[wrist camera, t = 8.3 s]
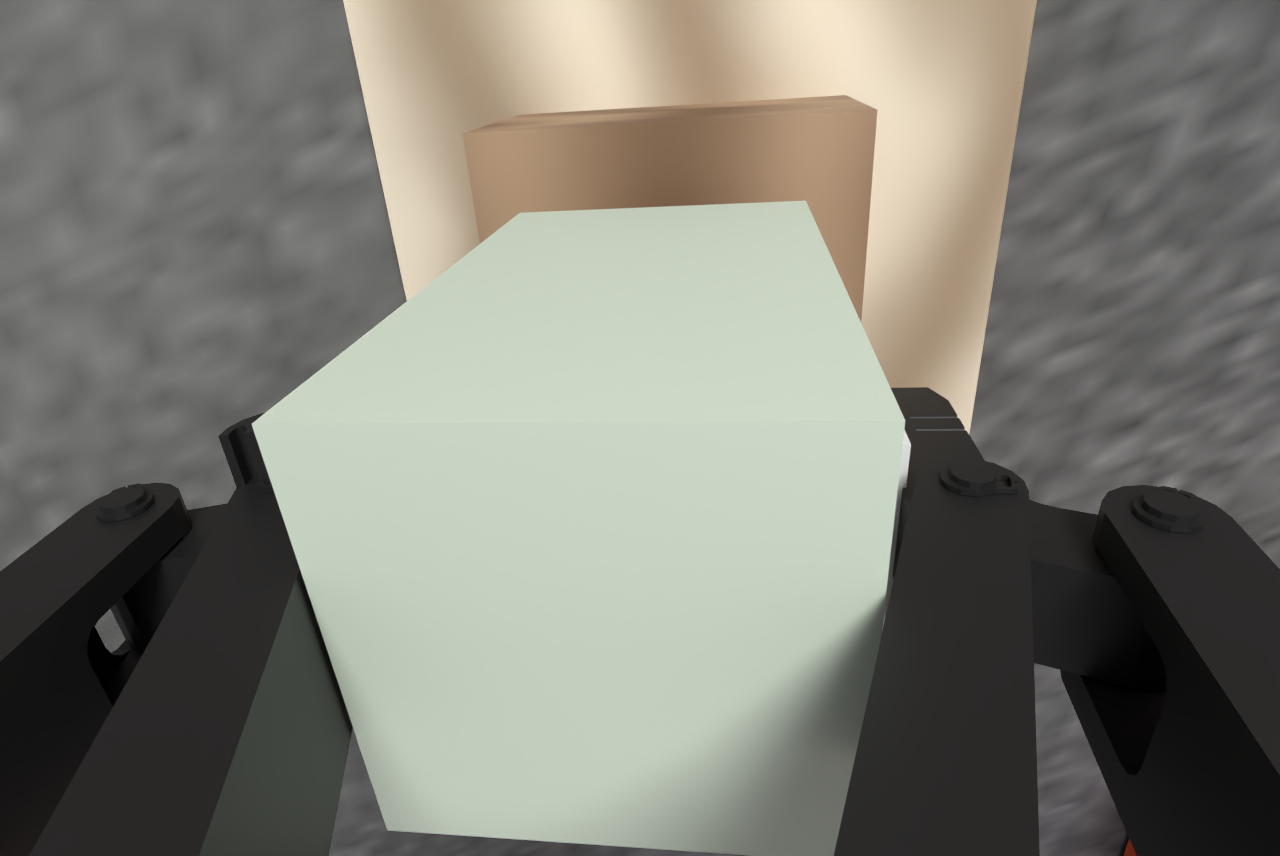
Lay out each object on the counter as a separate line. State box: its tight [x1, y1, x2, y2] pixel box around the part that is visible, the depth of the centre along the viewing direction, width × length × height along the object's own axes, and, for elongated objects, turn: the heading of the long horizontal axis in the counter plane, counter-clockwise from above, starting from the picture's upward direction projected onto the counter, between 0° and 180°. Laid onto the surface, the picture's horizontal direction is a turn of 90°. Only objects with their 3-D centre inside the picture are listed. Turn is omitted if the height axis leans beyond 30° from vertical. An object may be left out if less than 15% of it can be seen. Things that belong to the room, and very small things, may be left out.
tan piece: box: [343, 0, 1037, 434], centre depth 21 cm, size 18×16×6 cm
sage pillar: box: [252, 201, 905, 856], centre depth 12 cm, size 6×6×10 cm
